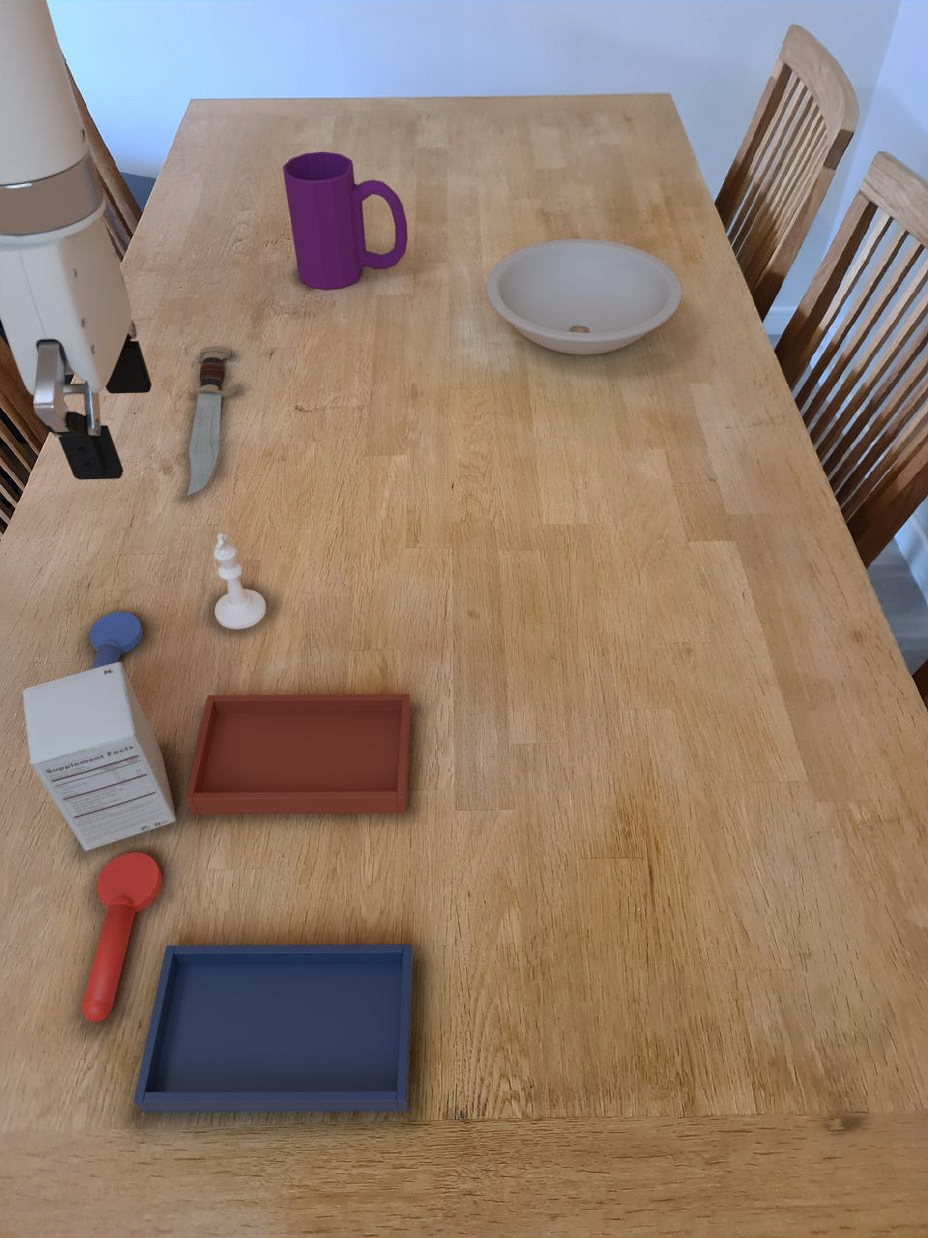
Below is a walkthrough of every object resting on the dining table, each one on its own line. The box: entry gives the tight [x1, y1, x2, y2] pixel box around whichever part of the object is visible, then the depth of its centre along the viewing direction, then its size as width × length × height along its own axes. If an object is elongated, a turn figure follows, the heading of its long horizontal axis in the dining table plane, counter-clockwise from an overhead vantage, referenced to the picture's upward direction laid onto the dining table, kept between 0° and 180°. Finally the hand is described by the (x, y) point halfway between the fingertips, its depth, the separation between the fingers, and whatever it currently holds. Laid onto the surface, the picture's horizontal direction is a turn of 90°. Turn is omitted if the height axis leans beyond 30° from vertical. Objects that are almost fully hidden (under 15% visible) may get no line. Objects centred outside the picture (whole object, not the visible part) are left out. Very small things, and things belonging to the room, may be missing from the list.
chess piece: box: [213, 533, 267, 630], centre depth 89 cm, size 5×5×10 cm
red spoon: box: [81, 852, 163, 1023], centre depth 70 cm, size 13×5×2 cm, turn 0°
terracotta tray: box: [184, 693, 412, 815], centre depth 80 cm, size 17×10×3 cm, turn 90°
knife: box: [186, 345, 238, 497], centre depth 112 cm, size 27×2×5 cm
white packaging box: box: [22, 661, 177, 852], centre depth 74 cm, size 7×7×13 cm
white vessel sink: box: [485, 238, 683, 356], centre depth 122 cm, size 24×24×7 cm
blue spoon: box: [89, 611, 144, 670], centre depth 87 cm, size 13×5×2 cm, turn 0°
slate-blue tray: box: [133, 943, 414, 1114], centre depth 65 cm, size 17×10×3 cm, turn 90°
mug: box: [282, 151, 409, 291], centre depth 129 cm, size 9×16×15 cm, turn 87°
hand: (115, 431), depth 68 cm, fingers open, 9 cm apart
